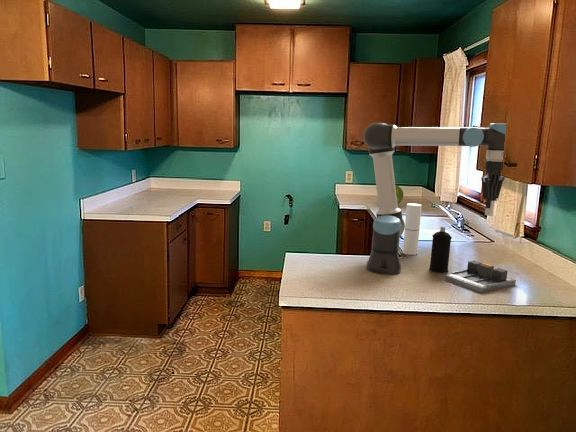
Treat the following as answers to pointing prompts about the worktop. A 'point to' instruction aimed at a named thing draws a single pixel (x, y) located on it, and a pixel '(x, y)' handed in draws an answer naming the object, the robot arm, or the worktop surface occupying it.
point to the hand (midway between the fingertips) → (488, 215)
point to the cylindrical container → (412, 228)
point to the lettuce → (399, 194)
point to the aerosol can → (440, 251)
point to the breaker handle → (486, 270)
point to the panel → (480, 278)
